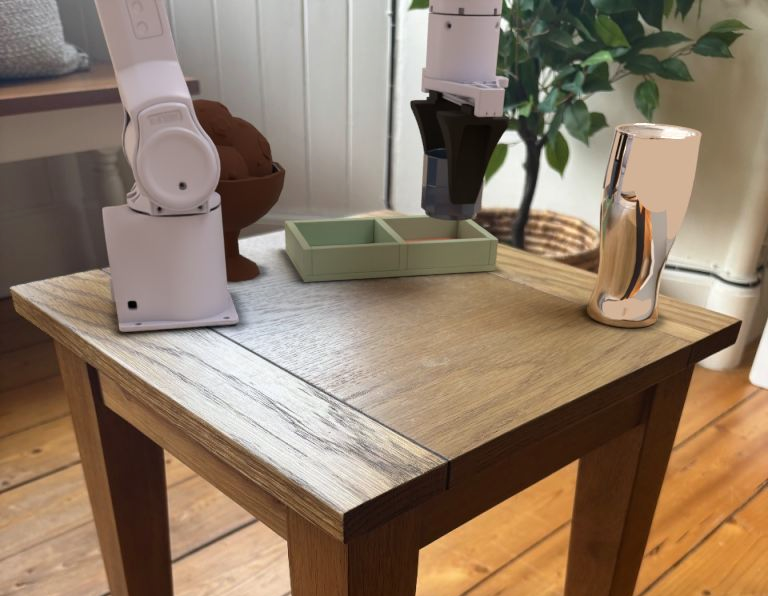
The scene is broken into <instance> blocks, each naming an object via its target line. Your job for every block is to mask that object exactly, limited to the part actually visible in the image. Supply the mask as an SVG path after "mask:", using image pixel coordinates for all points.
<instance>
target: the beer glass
mask: <svg viewBox="0 0 768 596" xmlns="http://www.w3.org/2000/svg"><path fill="white" fill-rule="evenodd" d="M702 136H703V135H702V132H701V131H699V130H697V129H694V128H690V127H686V126H680V125H673V124H666V123H665V124H664V123H651V122H650V123H649V122H648V123H647V122H632V123H631V122H630V123H623V124H622V123H621V124H618V125H616V126H615V128H614V133H613V138H612V141H611V145H610V149H609V153H608V158H607V162H606V165H605V171H604V176H603V181H602V188H601V195H600V207H599V258H598V259H599V261H598V268H597V269H598V271H597V276H596V280H595V283H594V287H593V289H592V292H591V294H590V298H589V300H588V303H587V307H586V313H587V315H588V316H589V317H590V318H591V319H592V320H594V321H596V322H598V323H601V324H604V325H607V326H611V327H617V328H618V327H619V328H626V329H627V328H628V329H629V328H631V329H632V328H633V329H636V328H644V327H650V326H651V325H653V324H655V323H656V322H657V320H658V317H659V300H660V299H659V298H660V286H661V281H662V278H663V273H664V270H665V267H666V265H667V261H668V259H669V257H670V255H671V252H672V249H673V247H674V245H675V242H676V239H677V237H678V234H679V232H680V230H681V228H682V225H683V222H684V219H685V216H686V214H687V211H688V207H689V203H690V199H691V196H692V191H693V187H694V181H695V177H696V173H697V172H696V171H697V164H698V160H699V159H698V158H699V152H700V151H699V150H700V144H701V139H702Z"/></svg>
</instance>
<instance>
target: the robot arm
mask: <svg viewBox="0 0 768 596" xmlns="http://www.w3.org/2000/svg"><path fill="white" fill-rule="evenodd" d="M93 1H94V4H95V9H96V12H97V15H98V18H99V23H100V26H101V29H102V33H103V36H104V39H105V44H106V47H107V50H108V53H109V57H110V59H111V64H112V68H113V71H114V76H115V80H116V84H117V89H118V93H119V97H120V101H121V104H122V108H123V113H124V121H123V126H122V133H121V146H122V152H123V155H124V158H125V159H126V161H127V163H128V166H129V167H130V168H131V171H132V175H133V178H134V181H135V182H134V184H133V185H132V188H130V191H129V192H127V193H126V195H125V197H126V203H125V204H119V205H112V206H104V207H102V209H101V210H102V212H101V213H102V223H103V230H104V238H105V245H106V251H107V258H108V265H109V271H110V277H111V278H109V279H108V284H109V291H110V298H111V302H115V308H116V314H117V315H116V316H117V321H118V329H119V331H120V332H123V333H127V332H128V333H129V332H142V331H156V330H157V331H158V330H170V329H185V328H197V327H212V326H213V327H215V326H226V325H237V324H239V322H240V319H239V318H240V317H239V315H238V312H237V309H236V306H235V303H234V301H233V298H232V294H231V293H230V290H229V289H228V282H227V276H226V263H225V250H224V238H223V225H222V212H221V203H220V202H221V198H220V195H219V194H218V193H216V192H214V191H215V189H216V187H217V185H218V181H219V177H220V159H219V155H218V152H217V149H216V147H215V145H214V143H213V142H212V140H211V139H210V137H209V136H208V135H207V134H206V132H205V131H204V130H203V129H202V127H201V125H200V124H199V122H198V120H197V118H196V115H195V111H194V107H193V103H192V101H193V100H192V96H191V93H190V90H189V87H188V84H187V82H186V79H185V76H184V73H183V70H182V68H181V65H180V61H179V58H178V54H177V49H176V45H175V41H174V37H173V33H172V29H171V25H170V21H169V16H168V12H167V9H166V5H165V0H93ZM428 2H429V3H428V15H427V16H428V18H427V34H426V35H427V36H426V37H427V38H426V56H425V57H426V58H425V67H422V69H421V86H420V87H421V88H420V89H421V90H420V91H421V92H422V93H424V94H428V96H426V97H425V98H426V99H414V100H413V99H412V100H411V101H410V102H409V105H410V109H411V112H412V114H413V116H414V119H415V122H416V124H417V127H418V132H419V134H420V135H419V136H420V139H421V143H422V149H423V153H424V152H425V151H426V150H430V149H437V148H446V153H447V163H448V188H449V196H450V201H451V203H452V204H454V205H457V204H475V203H476V201H477V198H478V195H479V192H480V189H481V186H482V182H483V179H484V180H485V178H484V176H486V173H487V169H488V166H489V164H490V161H491V158H492V156H493V154H494V152H495V150H496V147H497V145H498V143H499V142H500V140H501V138H502V137H503V135H504V134H505V133H506V131H507V129H508V128H509V126H510V120H511V118H510V116H508V115H505V114H504V113H503V112H504V103H505V94H506V93H505V92H506V88H509V81H510V80H509V78H508V77H505V76H502V75H497V64H498V55H499V44H500V43H499V42H500V34H501V23H502V11H503V0H429V1H428Z"/></svg>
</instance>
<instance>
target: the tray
mask: <svg viewBox="0 0 768 596" xmlns="http://www.w3.org/2000/svg"><path fill="white" fill-rule="evenodd" d="M284 241H285V246H284V247H285V252H286V254H287V256H288V258H289V260H290V261H291V262H292V264H293V266H294V268H295V269H296V271H297V273H298V274H299V276H300V278H301V279H302V281H303V282H304V283H313V282H314V283H315V282H330V281H345V280H348V281H349V280H361V279H363V280H364V279H379V278H395V277H396V278H397V277H411V276H412V277H413V276H428V275H446V274H462V273H464V274H465V273H479V272H495V271H496V268H497V267H496V266H497V265H496V264H497V256H498V247H499V246H498V245H499V239H498V238H497V237H496V236H494V235H493V234H491V232H489V231H488V230H486V229H485V228H483V227H482V226H481V225H479V224H478V223H477V222H476V221H475V220H472V219H469V220H462V221H449V220H440V219H435V218H432V217H429V216H427V215H426V214H416V215H414V214H413V215H395V216H394V215H392V216H391V215H389V216H370V217H345V218H319V219H299V220H298V219H296V220H285V221H284Z"/></svg>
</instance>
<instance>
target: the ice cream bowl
mask: <svg viewBox="0 0 768 596" xmlns="http://www.w3.org/2000/svg"><path fill="white" fill-rule="evenodd" d="M192 103H193V107H194V111H195V115H196V118H197V120H198V122H199V124H200V125H201V127H202V129H203V130H204V131H205V132H206V134H207V135H208V136H209V137H210V139H211V140H212V142H213V143H214V145H215V147H216V149H217V152H218V155H219V159H220V177H219V181H218V185H217V187H216V189H215V191H214V192H216V193H218V194H219V195H220V198H221V202H220V203H221V212H222V225H223V238H224V250H225V263H226V276H227V283H228V282H230V283H231V282H233V283H237V282H241V281H242V282H243V281H248V280H253V279H255V278H257V277H258V276H259V275H261V270H260V268H259V266H258V264H257V263H256V262H255V261H254V260H251V259H250V258H248V257H246V256H244V255H242V254H241V253H240V245H239V244H240V243H239V237H240V233H241V231H242V230H244V229H245V228H247V227H250V226H251V225H254V224H255V223H257V222H258V221H260V219H263V217H265V216H266V215H267V214H268V213H269V212H270V211H271V209H273V207H275V205H276V204H277V203H278V201H279V199H280V196H281V195H282V192H283V189H284V184H285V178H286V169H285V168H284V167H283V166H282V165H281V164H280V163H279V162H277V161H274V160H273V155H272V148H271V144H270V143H269V141H268V139H267V138H266V137H265V136H264V134H263V133H262V132H261V131H260V130H258V128H256V126H255V125H253V124H252V123H251V122H249V121H247V120H245V119H243V118H241V117H238V116H233V114H232V113H231V112H230V111H229V109H228V107H227V106H226V105H225V104H224V103H221V102H220V101H216V100H209V99H201V98H200V99H199V98H198V99H193V100H192Z"/></svg>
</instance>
